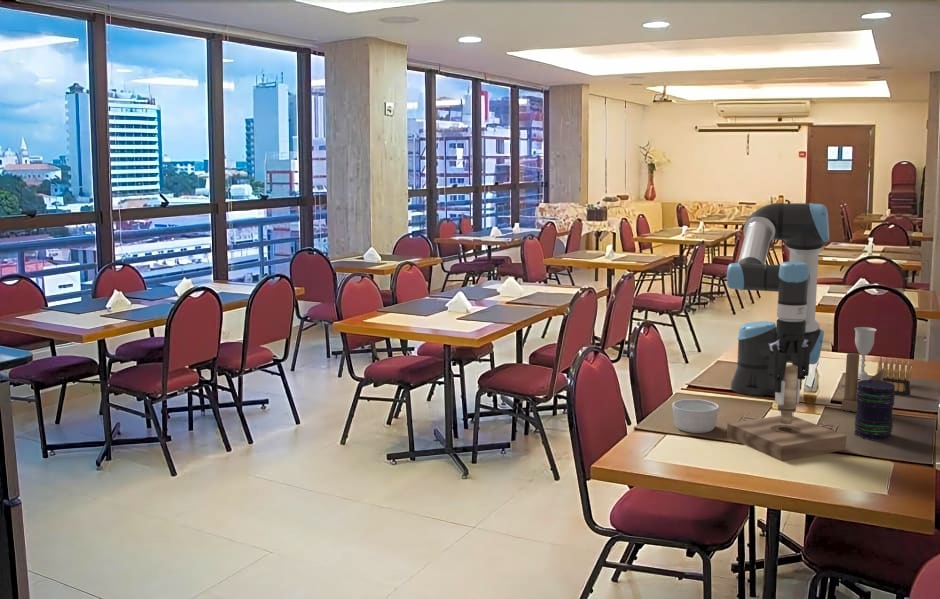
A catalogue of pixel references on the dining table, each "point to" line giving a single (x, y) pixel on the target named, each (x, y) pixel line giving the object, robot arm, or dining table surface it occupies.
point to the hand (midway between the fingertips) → (786, 402)
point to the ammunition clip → (897, 375)
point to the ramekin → (695, 415)
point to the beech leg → (789, 394)
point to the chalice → (864, 346)
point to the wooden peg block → (854, 382)
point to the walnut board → (786, 437)
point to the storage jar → (874, 409)
